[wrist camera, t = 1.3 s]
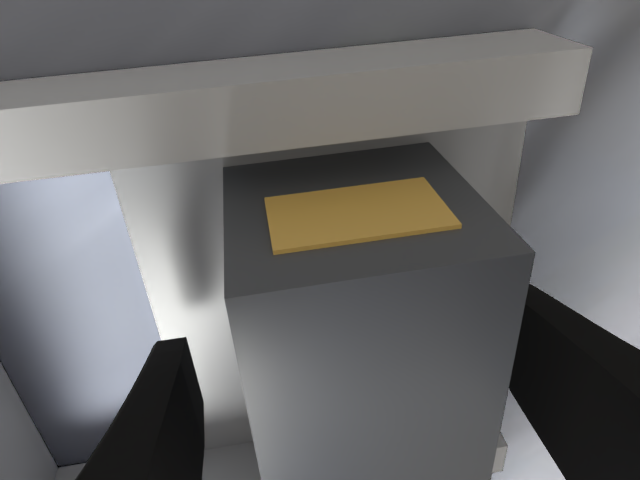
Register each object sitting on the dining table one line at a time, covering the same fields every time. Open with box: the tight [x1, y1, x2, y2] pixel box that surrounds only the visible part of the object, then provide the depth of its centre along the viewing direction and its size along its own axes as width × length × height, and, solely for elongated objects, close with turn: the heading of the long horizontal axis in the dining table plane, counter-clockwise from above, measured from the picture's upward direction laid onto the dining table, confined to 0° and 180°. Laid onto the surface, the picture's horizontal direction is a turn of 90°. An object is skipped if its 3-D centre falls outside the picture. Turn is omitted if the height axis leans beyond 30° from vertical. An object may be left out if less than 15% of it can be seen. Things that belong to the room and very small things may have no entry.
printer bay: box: [0, 28, 593, 480], centre depth 11 cm, size 12×15×4 cm
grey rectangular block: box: [223, 142, 535, 480], centre depth 11 cm, size 8×4×4 cm, turn 4°
